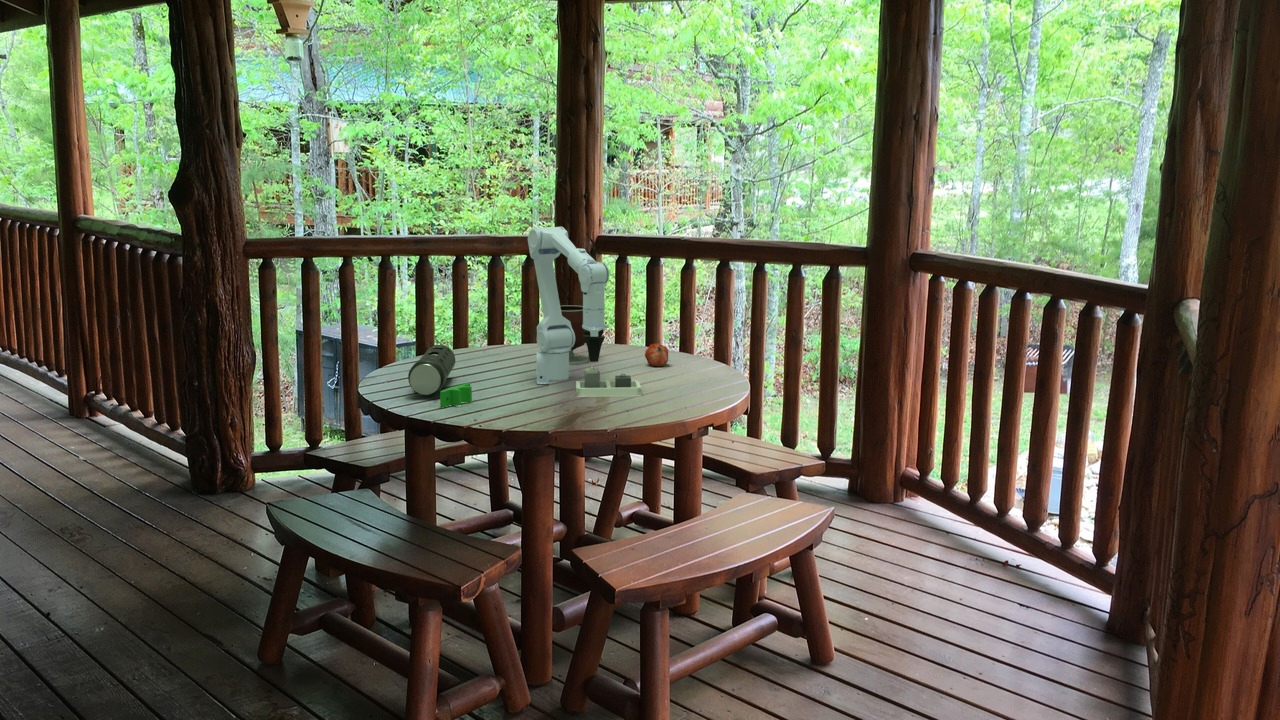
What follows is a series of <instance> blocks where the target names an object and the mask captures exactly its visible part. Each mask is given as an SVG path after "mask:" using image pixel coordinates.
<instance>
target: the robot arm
mask: <svg viewBox="0 0 1280 720" xmlns="http://www.w3.org/2000/svg"><path fill="white" fill-rule="evenodd" d="M527 244H528V249H529V256H530V258H531V259H532V260H533V263H534V268H535V274H536V280H537V285H538V291H539V296H540V302H541V303H540V304H541V310H542V315H543V319H542V320H541V321H540V322H539V323H538V325H537V326H536V343H537V344H536V345H537V347H538V349H539V350H540V351H536V370H535V378H536V385H550V381H565V380H569V379H570V365H569V351H571V348H572V347H573V346H574V343H575V334H574V331H573V329H572V327H571V322H570V321H569V320H567V319H566V318H564V317H563V316H562V313H561V307H560V306H561V302H560V298H559V292H558V285H557V279H556V274H555V268H554V260H555V259H556V258H558V257H560V255H561V254H562V255H564V256H565V257H566V258H567V264H568V265H569V266H570V267H571V269H573V271H574V272H575V273H577V274H578V281H579V283H580V291H581V292H582V306H583V325H582V328H583V329H585V330H583V333H584V335H583V338H584V340H585V342H586V343H585V345H586V347H587V352H588V360H589V362H591V363H599V360H600V353H601V348H602V345H603V342H604V340H605V338H606V337H605V336H604V331H605V329H609V328H610V326H609V324H606V323H605V305H606V303H605V302H606V301H605V297H606V296H605V293H606V291H605V289H606V288H605V286H606V284H607V283H609V279H610V270H609V268H608V266H607V264H606V263H605V262H602V261H601V262H598V261H596V260H595V259H594V258H593V257H592V256H591V255H590V254H588V253H587V251H586V249H585V248H577V247H576V246H575V244H574V243H573V242H572V241H571V240H570V239H569V234H568V231H567V230H566V229H565V227H563V226H551V227H550V226H548V227H547V226H545V227H543V226H542V227H536V226H534V227H531V229H530V231H529V233H528V237H527ZM556 327H557V328H556ZM547 328H553V329H547Z"/></svg>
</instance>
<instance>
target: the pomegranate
mask: <svg viewBox="0 0 1280 720" xmlns="http://www.w3.org/2000/svg"><path fill="white" fill-rule="evenodd" d="M644 352H645V353H644V357H645V359H646V361H647V363H648V365H650V366H651V367H663V366H665V365H667V364H668V362H669V350H668V347H667V346H666V345H662V344H660V343H658V342H657V343H656V342H655V343H651V344H650V345H649V346H648V347H647V348H646V350H645V351H644Z"/></svg>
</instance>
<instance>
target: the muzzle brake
mask: <svg viewBox="0 0 1280 720" xmlns="http://www.w3.org/2000/svg"><path fill="white" fill-rule="evenodd" d="M455 364H456V355H455V353H454V351H453V350H452V349H451V348H450V347H449V346H447V345H444V344H436V345H433V346H431V347H429V348H427V350H426V352H424V354H423V355H422V356H421V357H420V358H419V360H417V361H416V362H415V363H414V364H413V365H412V366H411V367H410V369H409V372H408V374H407V375H408V376H407V379H408V384H409V386H410V388H411V389H412V391H414V392H415V393H417V394H419V395H421V396H432V395H433V396H434V395H435V394H437V393H439V392H440V391H441V389H442V388H443V386H444V385H445V384H446V381H447V379H448V377H449V375H450V374H451V372H452V371H453V369H454V367H455V366H456V365H455Z"/></svg>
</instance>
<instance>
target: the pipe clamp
mask: <svg viewBox="0 0 1280 720" xmlns="http://www.w3.org/2000/svg"><path fill="white" fill-rule="evenodd" d="M472 393H473V391H472V386H471V383H468V382H466V383H463V384H460V385H459V384H458V385H457V386H456V385H455V386H453V387H450V388H446V389H443V390H440V391H439V400H440V401H439V403H440V408H441V407H446V406H449V405H461V406H462V404H461V402H472V403H473V396H472V395H473V394H472Z"/></svg>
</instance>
